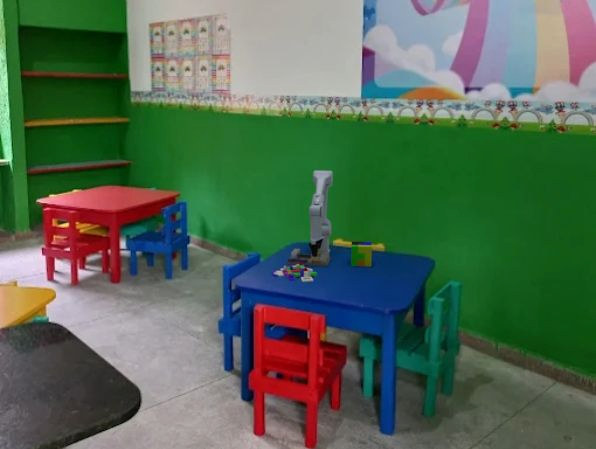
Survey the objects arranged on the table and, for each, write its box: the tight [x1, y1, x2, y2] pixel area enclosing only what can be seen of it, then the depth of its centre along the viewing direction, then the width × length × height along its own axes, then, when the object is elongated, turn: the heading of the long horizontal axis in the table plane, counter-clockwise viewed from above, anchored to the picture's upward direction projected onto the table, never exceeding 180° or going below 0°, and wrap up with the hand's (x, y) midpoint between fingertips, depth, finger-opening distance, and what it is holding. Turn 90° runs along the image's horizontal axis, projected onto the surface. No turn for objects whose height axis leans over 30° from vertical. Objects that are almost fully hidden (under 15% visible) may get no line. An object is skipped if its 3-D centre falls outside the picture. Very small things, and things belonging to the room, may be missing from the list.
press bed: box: [286, 250, 332, 268], centre depth 314 cm, size 12×20×6 cm, turn 77°
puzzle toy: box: [350, 241, 373, 267], centre depth 311 cm, size 10×10×10 cm
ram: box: [290, 248, 301, 259], centre depth 315 cm, size 8×3×4 cm, turn 167°
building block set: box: [270, 263, 318, 283], centre depth 295 cm, size 25×20×4 cm
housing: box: [310, 249, 322, 261], centre depth 312 cm, size 4×4×5 cm
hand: (316, 254), depth 312 cm, fingers open, 7 cm apart
